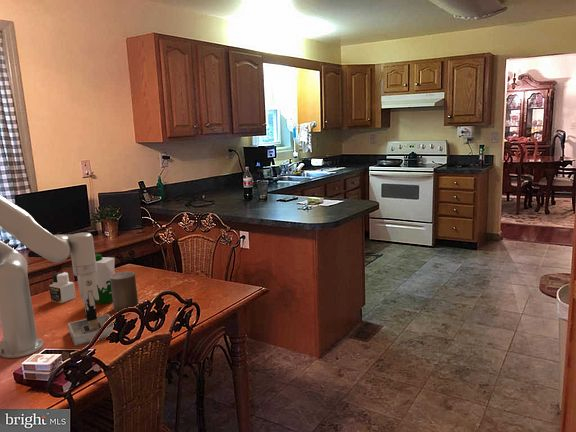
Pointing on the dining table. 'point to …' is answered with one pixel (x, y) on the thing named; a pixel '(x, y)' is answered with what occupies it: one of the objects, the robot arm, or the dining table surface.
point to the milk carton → (104, 278)
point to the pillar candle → (123, 290)
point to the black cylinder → (93, 323)
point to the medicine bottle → (61, 288)
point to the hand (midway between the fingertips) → (91, 317)
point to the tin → (83, 334)
